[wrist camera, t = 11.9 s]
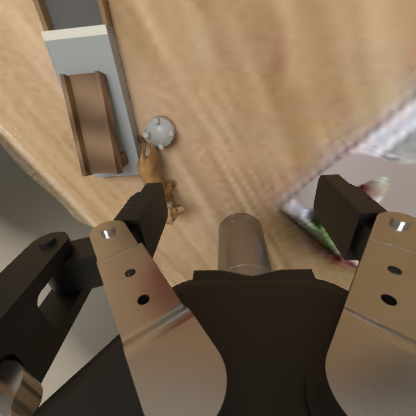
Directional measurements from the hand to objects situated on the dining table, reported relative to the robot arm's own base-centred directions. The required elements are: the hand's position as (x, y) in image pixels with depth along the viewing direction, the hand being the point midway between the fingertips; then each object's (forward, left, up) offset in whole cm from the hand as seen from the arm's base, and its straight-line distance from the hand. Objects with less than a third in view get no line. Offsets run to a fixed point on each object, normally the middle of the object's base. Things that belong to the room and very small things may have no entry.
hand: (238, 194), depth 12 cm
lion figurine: (-10, +12, -28) cm, 32 cm away
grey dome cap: (-2, +11, -28) cm, 30 cm away
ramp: (0, +20, -26) cm, 33 cm away
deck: (+2, +20, -28) cm, 35 cm away
